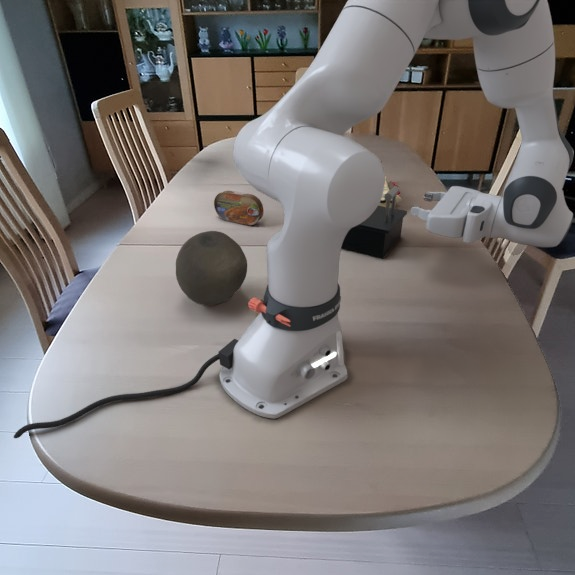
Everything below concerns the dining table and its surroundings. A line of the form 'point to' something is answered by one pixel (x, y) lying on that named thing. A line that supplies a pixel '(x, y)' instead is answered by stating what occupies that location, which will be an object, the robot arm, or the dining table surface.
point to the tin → (238, 207)
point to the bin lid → (385, 215)
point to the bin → (371, 241)
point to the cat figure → (386, 189)
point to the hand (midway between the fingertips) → (418, 202)
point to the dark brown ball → (210, 268)
